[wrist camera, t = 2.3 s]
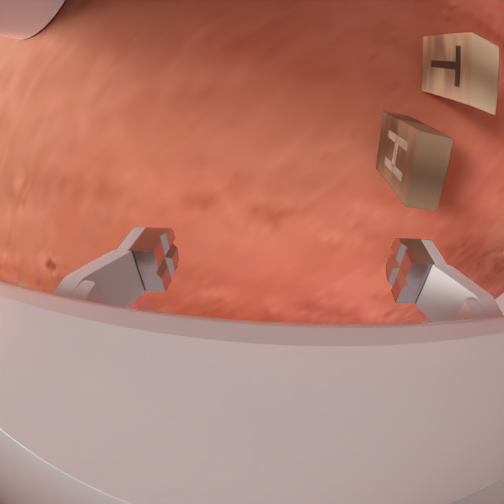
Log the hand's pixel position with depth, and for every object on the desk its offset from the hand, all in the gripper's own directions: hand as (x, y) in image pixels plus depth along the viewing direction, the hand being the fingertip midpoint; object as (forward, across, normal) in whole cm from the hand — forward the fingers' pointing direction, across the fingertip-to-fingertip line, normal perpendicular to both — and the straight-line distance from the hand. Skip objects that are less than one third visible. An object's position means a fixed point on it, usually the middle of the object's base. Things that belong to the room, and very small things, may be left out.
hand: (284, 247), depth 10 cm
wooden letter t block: (+18, -15, -9) cm, 25 cm away
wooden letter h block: (+19, -11, 0) cm, 22 cm away
